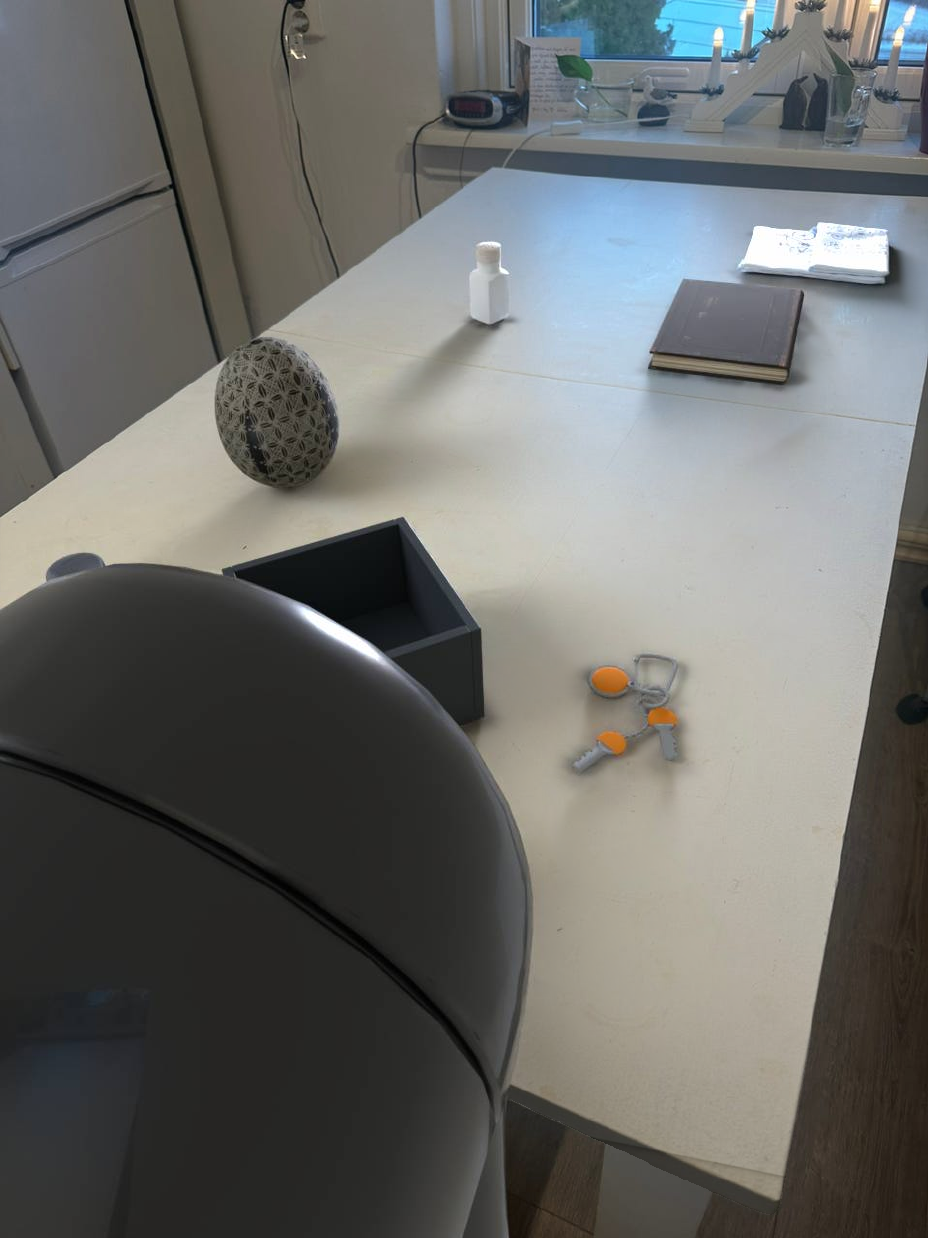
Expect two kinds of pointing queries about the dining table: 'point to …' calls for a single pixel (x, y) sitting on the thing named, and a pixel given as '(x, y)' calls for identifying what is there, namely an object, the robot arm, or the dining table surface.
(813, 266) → the folded white cloth
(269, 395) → the decorative egg
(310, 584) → the open storage box
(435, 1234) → the robot arm
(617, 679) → the key chain
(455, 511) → the dining table surface
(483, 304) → the pepper shaker
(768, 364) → the hardcover book
